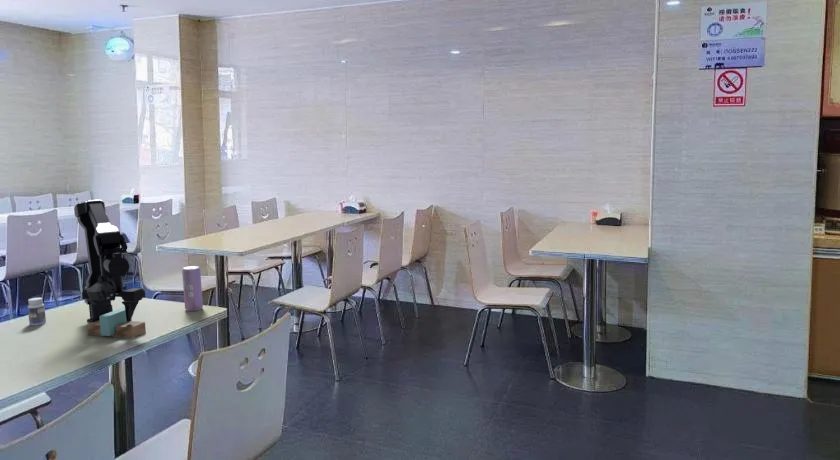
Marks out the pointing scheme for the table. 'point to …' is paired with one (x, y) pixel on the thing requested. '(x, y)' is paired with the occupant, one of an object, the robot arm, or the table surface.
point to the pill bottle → (36, 311)
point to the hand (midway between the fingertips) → (116, 320)
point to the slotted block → (120, 329)
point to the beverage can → (192, 288)
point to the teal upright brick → (112, 321)
